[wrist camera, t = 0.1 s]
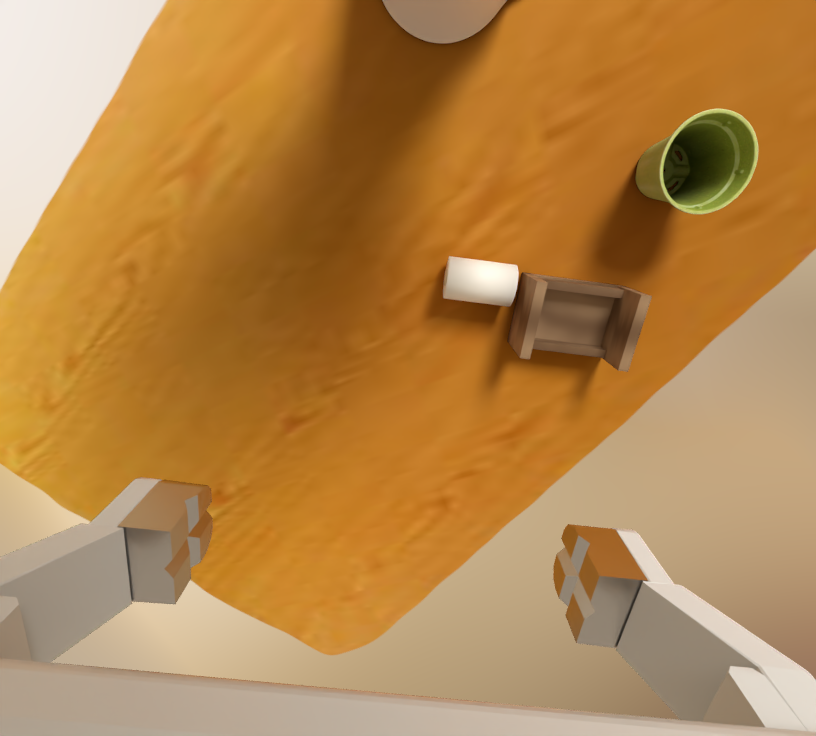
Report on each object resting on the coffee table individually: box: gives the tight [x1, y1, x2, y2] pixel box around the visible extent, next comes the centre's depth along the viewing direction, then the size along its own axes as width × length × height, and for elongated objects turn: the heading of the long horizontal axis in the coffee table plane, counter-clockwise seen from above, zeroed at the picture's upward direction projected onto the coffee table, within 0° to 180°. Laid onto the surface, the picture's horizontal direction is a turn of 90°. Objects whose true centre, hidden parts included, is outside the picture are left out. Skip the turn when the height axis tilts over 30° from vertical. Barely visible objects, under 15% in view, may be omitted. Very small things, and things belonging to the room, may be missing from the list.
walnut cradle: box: [508, 272, 652, 372], centre depth 54 cm, size 9×13×7 cm
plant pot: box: [635, 109, 758, 214], centre depth 47 cm, size 9×9×9 cm
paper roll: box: [443, 256, 518, 307], centre depth 53 cm, size 8×5×5 cm, turn 83°
